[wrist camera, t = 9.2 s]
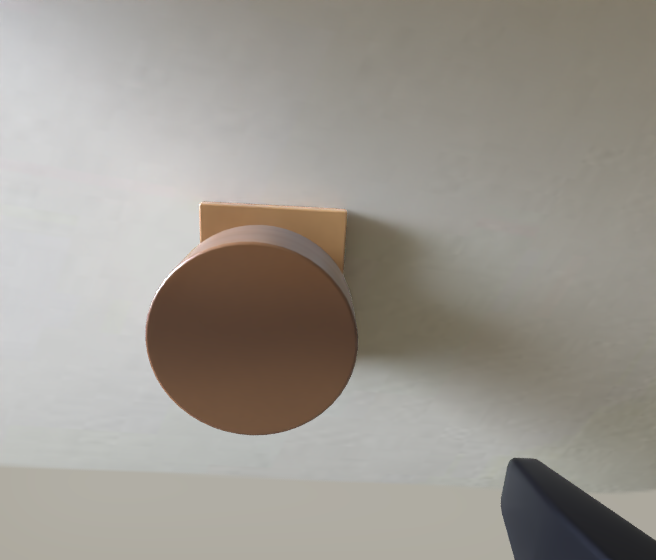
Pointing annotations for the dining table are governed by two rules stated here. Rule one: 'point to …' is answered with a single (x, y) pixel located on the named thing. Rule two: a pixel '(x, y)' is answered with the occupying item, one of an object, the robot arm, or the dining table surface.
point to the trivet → (280, 223)
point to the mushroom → (253, 331)
